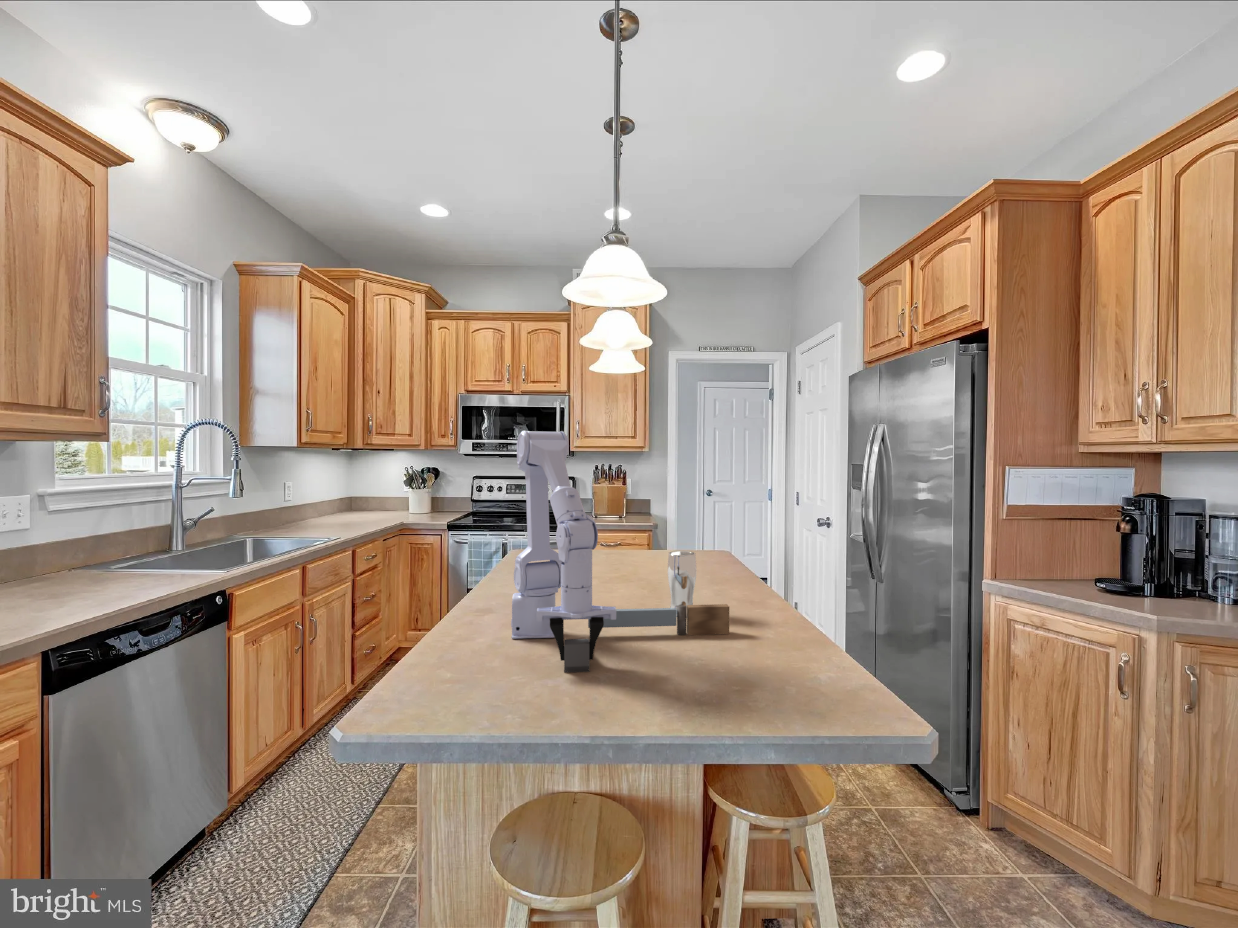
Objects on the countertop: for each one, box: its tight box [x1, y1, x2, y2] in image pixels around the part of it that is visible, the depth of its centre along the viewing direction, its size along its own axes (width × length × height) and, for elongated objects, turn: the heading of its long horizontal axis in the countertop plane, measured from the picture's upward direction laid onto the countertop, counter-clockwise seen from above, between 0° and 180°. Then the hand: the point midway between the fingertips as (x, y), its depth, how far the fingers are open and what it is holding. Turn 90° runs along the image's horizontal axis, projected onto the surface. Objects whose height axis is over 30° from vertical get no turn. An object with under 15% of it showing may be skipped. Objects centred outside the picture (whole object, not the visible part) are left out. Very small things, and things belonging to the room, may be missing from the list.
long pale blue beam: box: [587, 607, 677, 629], centre depth 124 cm, size 19×2×4 cm, turn 95°
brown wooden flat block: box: [676, 603, 730, 636], centre depth 125 cm, size 11×2×6 cm, turn 95°
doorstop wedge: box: [563, 638, 590, 673], centre depth 108 cm, size 10×4×5 cm, turn 5°
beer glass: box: [667, 550, 697, 619], centre depth 140 cm, size 7×7×15 cm
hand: (576, 658), depth 106 cm, fingers closed on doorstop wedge, 4 cm apart
